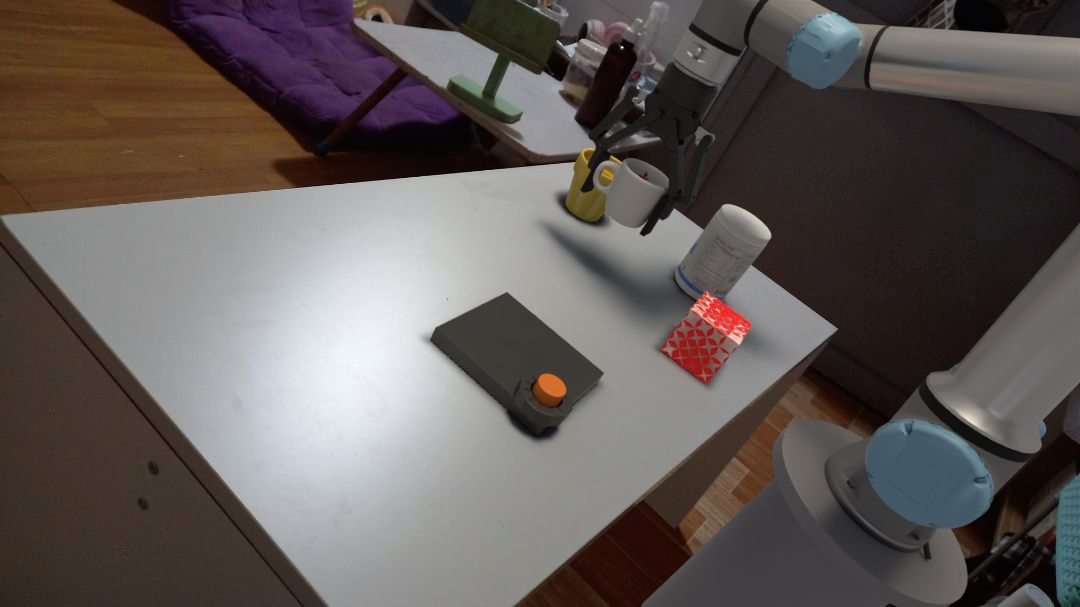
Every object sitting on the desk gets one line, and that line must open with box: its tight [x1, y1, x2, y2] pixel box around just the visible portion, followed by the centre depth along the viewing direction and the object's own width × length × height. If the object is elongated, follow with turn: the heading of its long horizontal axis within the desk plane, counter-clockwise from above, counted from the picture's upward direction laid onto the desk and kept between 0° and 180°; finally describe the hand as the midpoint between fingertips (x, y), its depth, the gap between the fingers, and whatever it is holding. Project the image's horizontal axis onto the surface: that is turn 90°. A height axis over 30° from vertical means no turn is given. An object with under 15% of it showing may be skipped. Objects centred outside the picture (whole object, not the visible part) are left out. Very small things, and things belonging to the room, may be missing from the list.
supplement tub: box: [674, 203, 772, 302], centre depth 107 cm, size 10×10×15 cm
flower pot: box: [565, 147, 623, 223], centre depth 112 cm, size 10×10×10 cm
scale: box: [429, 291, 605, 436], centre depth 74 cm, size 17×15×4 cm
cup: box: [593, 157, 669, 229], centre depth 94 cm, size 11×8×8 cm
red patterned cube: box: [659, 291, 753, 385], centre depth 91 cm, size 8×8×8 cm
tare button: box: [532, 374, 566, 408], centre depth 67 cm, size 3×3×2 cm
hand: (614, 211), depth 96 cm, fingers closed on cup, 10 cm apart
